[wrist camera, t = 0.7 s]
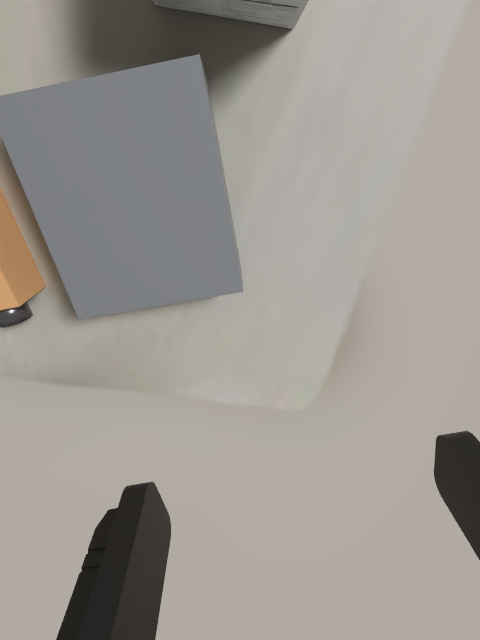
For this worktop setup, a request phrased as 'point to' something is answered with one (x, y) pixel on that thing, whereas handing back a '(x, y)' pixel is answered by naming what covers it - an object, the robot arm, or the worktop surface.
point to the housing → (15, 271)
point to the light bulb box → (244, 9)
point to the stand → (127, 186)
